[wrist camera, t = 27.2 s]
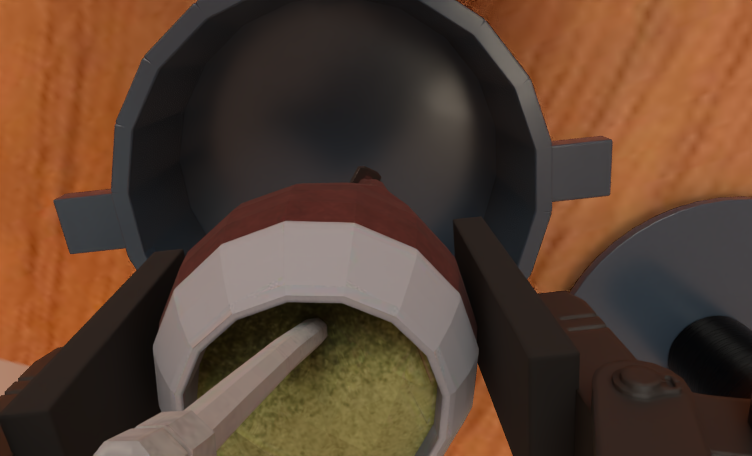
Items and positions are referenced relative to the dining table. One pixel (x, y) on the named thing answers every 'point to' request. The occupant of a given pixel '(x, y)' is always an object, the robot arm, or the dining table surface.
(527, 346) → the robot arm
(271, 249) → the mate gourd
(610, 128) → the dining table surface
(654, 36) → the dining table surface
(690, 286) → the lid
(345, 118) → the pot
